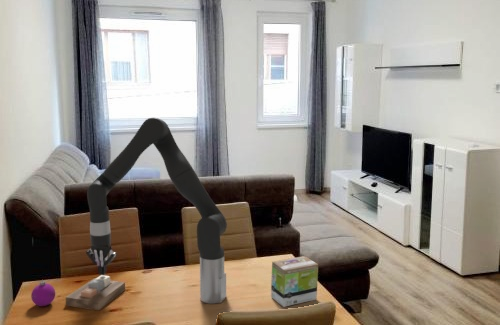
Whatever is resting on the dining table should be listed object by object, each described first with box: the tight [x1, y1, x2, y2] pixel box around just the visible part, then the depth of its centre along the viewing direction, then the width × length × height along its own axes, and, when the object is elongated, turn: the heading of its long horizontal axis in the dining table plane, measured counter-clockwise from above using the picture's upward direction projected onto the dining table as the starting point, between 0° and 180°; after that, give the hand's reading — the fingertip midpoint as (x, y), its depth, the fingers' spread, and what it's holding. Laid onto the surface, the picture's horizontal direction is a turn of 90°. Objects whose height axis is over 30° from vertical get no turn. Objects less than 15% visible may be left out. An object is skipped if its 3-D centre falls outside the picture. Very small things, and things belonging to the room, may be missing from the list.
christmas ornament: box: [30, 279, 56, 307], centre depth 174 cm, size 8×8×10 cm
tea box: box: [270, 255, 319, 308], centre depth 179 cm, size 15×10×15 cm
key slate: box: [87, 278, 104, 293], centre depth 180 cm, size 4×4×3 cm
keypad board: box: [65, 277, 126, 311], centre depth 181 cm, size 14×18×3 cm
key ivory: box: [95, 274, 111, 288], centre depth 185 cm, size 4×4×3 cm
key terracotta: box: [81, 288, 97, 298], centre depth 176 cm, size 4×4×3 cm
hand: (102, 274), depth 184 cm, fingers closed
